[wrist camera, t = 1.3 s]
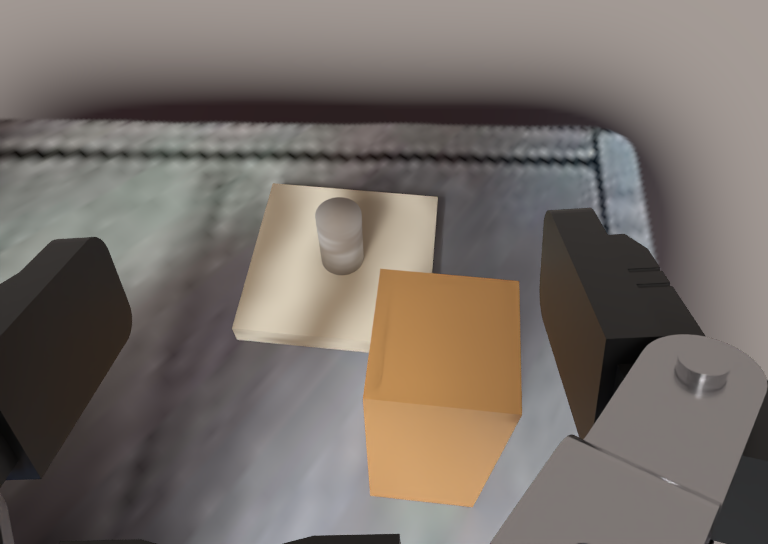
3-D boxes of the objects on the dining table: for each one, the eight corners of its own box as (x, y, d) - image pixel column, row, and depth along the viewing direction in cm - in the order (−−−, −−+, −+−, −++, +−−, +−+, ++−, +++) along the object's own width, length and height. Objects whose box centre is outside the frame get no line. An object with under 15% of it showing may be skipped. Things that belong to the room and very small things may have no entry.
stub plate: (236, 339, 38) (215, 289, 33) (275, 197, 45) (262, 137, 40) (425, 358, 38) (431, 309, 33) (436, 210, 44) (443, 151, 39)
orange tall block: (370, 495, 33) (363, 398, 21) (381, 399, 36) (380, 268, 24) (472, 507, 33) (521, 414, 21) (475, 408, 36) (519, 280, 24)
